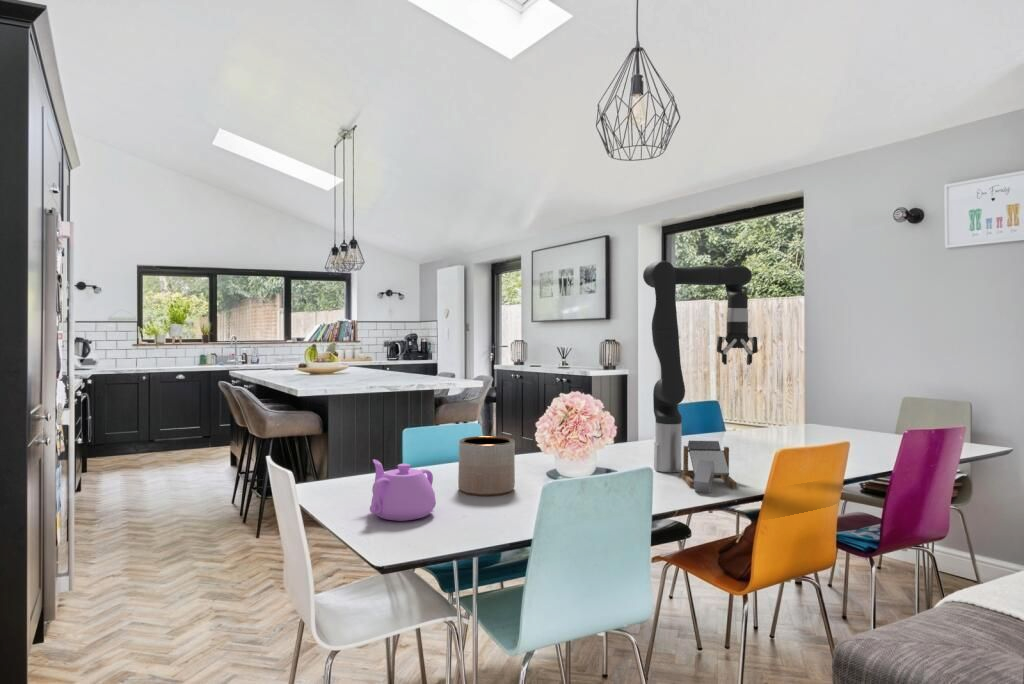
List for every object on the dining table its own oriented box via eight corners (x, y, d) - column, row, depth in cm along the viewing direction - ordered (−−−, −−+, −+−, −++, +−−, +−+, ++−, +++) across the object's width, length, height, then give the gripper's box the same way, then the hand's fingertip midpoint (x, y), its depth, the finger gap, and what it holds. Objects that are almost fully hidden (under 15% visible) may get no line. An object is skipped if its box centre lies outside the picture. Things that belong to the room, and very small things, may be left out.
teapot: (402, 499, 196) (402, 452, 196) (454, 512, 182) (455, 462, 182) (340, 515, 179) (340, 464, 179) (393, 530, 165) (393, 475, 165)
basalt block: (700, 470, 215) (695, 491, 207) (699, 459, 213) (693, 481, 205) (714, 471, 213) (709, 493, 205) (713, 461, 211) (708, 482, 203)
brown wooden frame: (680, 475, 230) (680, 442, 230) (722, 476, 229) (723, 443, 229) (690, 487, 213) (690, 452, 212) (736, 489, 211) (736, 453, 211)
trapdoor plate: (686, 445, 229) (687, 439, 227) (718, 446, 228) (720, 440, 226) (693, 478, 216) (694, 472, 214) (727, 479, 215) (729, 473, 214)
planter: (512, 497, 199) (513, 445, 199) (454, 496, 200) (454, 444, 200) (516, 484, 217) (516, 436, 216) (462, 482, 218) (462, 435, 218)
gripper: (720, 320, 242) (719, 365, 242) (760, 320, 241) (759, 365, 241) (715, 320, 249) (714, 364, 249) (754, 321, 248) (753, 364, 248)
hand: (736, 364), depth 245 cm, fingers open, 8 cm apart
